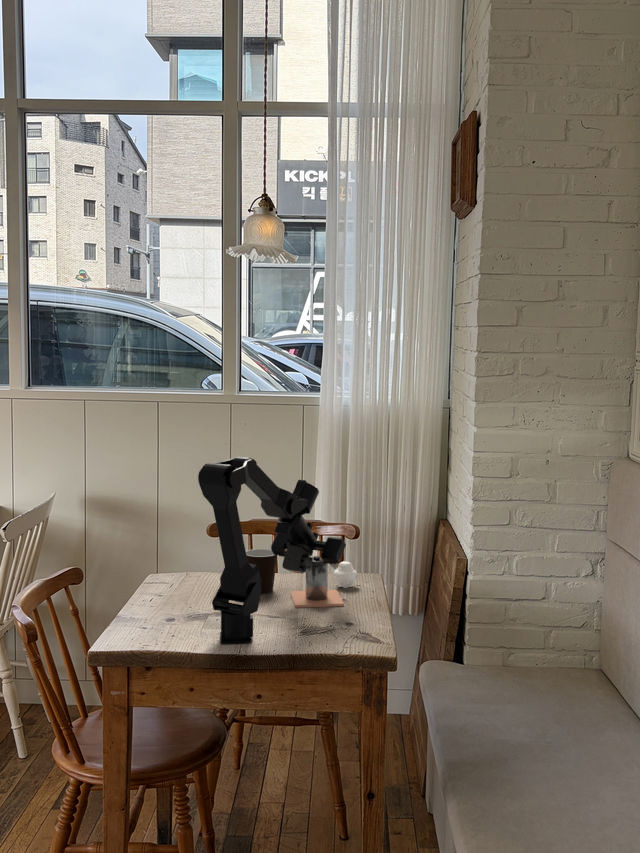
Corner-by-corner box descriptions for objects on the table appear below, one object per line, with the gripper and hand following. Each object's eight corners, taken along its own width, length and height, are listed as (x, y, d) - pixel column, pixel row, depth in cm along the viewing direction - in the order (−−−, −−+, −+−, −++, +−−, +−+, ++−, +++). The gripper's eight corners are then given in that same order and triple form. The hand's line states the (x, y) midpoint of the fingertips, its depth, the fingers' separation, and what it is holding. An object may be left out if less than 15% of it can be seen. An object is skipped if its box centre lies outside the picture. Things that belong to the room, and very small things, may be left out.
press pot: (311, 602, 205) (311, 560, 204) (301, 595, 210) (301, 555, 209) (332, 599, 207) (332, 558, 206) (321, 592, 212) (321, 553, 211)
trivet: (295, 607, 202) (295, 605, 202) (290, 593, 214) (290, 591, 214) (343, 606, 203) (343, 603, 203) (336, 592, 215) (336, 590, 215)
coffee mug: (272, 596, 211) (272, 557, 210) (239, 594, 213) (239, 555, 212) (283, 584, 223) (283, 547, 222) (252, 582, 224) (252, 545, 223)
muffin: (357, 584, 223) (357, 558, 223) (355, 590, 217) (356, 564, 217) (334, 583, 224) (334, 557, 223) (332, 589, 218) (332, 563, 217)
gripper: (250, 552, 199) (276, 587, 209) (317, 562, 190) (340, 598, 200) (269, 515, 205) (293, 550, 215) (335, 523, 196) (356, 559, 206)
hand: (319, 565), depth 209 cm, fingers open, 9 cm apart
